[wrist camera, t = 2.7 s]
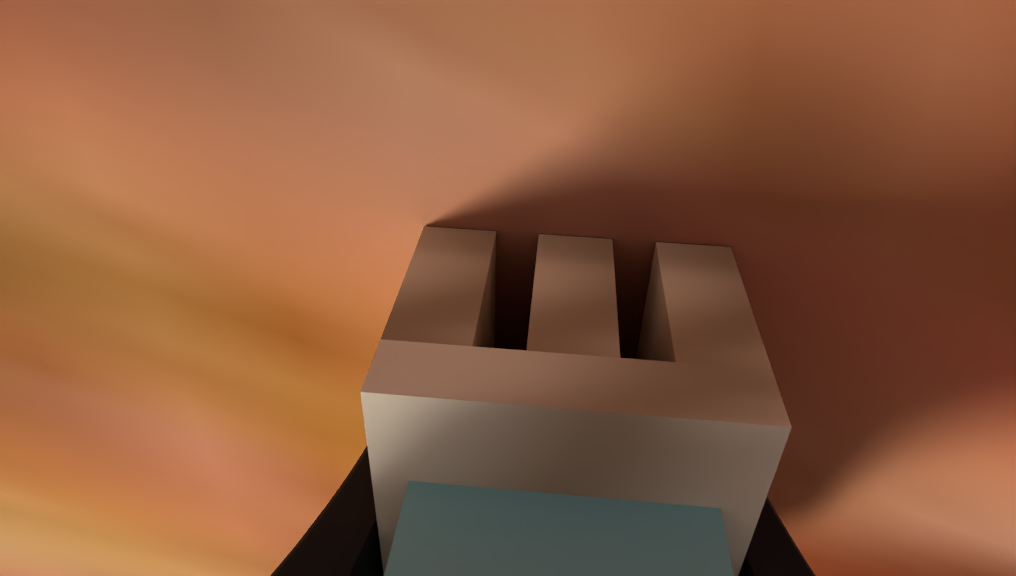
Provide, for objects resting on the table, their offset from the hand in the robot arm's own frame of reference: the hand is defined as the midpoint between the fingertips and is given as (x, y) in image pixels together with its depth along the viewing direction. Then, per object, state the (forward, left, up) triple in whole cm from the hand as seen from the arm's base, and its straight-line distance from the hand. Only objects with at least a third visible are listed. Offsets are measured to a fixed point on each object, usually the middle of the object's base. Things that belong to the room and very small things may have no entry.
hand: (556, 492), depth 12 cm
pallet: (0, 0, -2) cm, 2 cm away
